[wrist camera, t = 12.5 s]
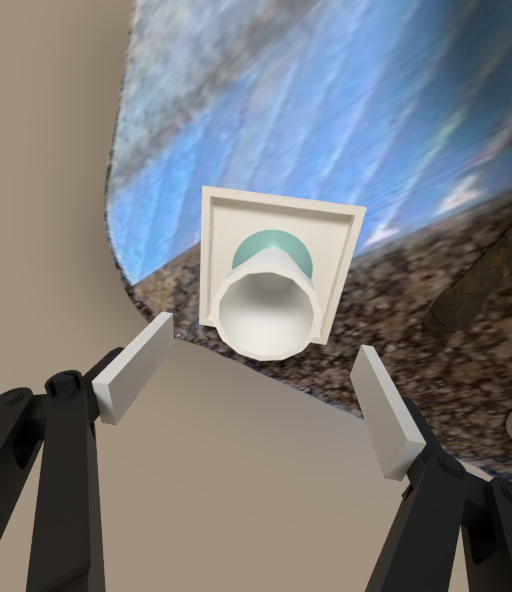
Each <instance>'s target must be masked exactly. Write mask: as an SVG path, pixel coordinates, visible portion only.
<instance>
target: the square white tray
mask: <svg viewBox="0 0 512 592" xmlns="http://www.w3.org/2000/svg"><path fill="white" fill-rule="evenodd" d="M366 209H367V207H362V206H356V205H348V204H340V203H333V202H325V201H318V200H310V199H302V198H295V197H287V196H280V195H272V194H265V193H257V192H249V191H242V190H234V189H227V188H219V187H212V186H202V223H201V270H200V318H199V324H200V325H206V326H213V327H215V325H214V323H213V299H214V297H215V295H216V293H217V292H218V290H219V288H220V286H221V285H222V283H223V281H224V280H225V278H226V277H227V275H228V274H229V272H230V271H231V270H233V269H234V268H236V267H238V266H239V265H241V264H242V263H244V262H246V261H247V260H249V259H250V258H251V257H253V256H254V255H255V254H257V253H259V252H260V251H262V250H263V249H268V248H277V249H280V250H283V251H285V252H286V253H287V254H288V255H289V256H290V257H291V258H292V259H293V260H294V261H295V263H296V264H297V265H298V267H299V268H300V270H301V271H302V272H303V273H304V274H305V275H306V276H307V277H308V278H309V279H310V280H311V281H312V283H313V286H314V289H315V293H316V296H317V299H318V303H319V306H320V309H321V313H322V314H321V319H320V323H319V327H318V332H317V335H316V336H315V337H314V338H313V340H312V341H311V343H317V344H324V345H326V343H327V340H328V337H329V333H330V330H331V327H332V323H333V320H334V316H335V313H336V310H337V306H338V303H339V300H340V296H341V293H342V289H343V286H344V283H345V279H346V276H347V273H348V269H349V266H350V263H351V259H352V256H353V252H354V249H355V246H356V242H357V239H358V236H359V232H360V229H361V225H362V222H363V219H364V215H365V212H366Z"/></svg>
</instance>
